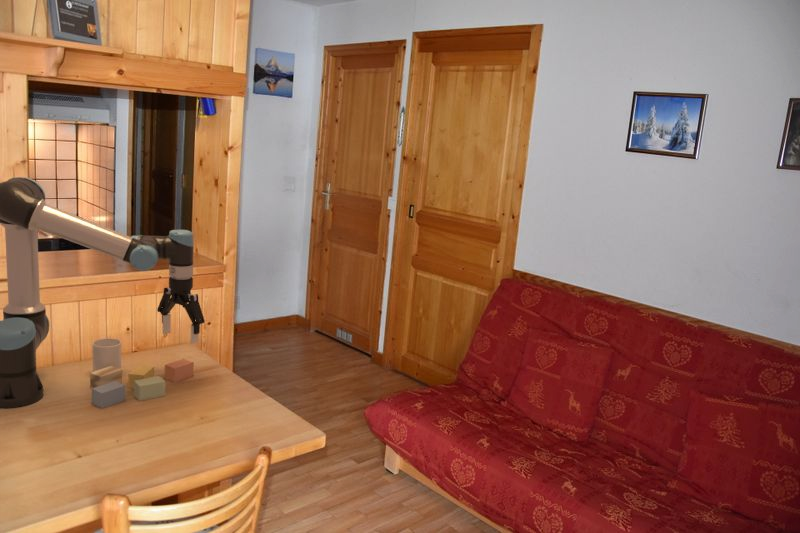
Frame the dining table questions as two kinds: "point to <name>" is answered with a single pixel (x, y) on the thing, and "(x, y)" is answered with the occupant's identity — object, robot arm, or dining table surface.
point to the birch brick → (105, 376)
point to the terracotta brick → (179, 370)
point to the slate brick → (108, 394)
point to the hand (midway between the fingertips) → (180, 338)
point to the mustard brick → (140, 374)
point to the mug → (106, 353)
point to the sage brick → (149, 388)
